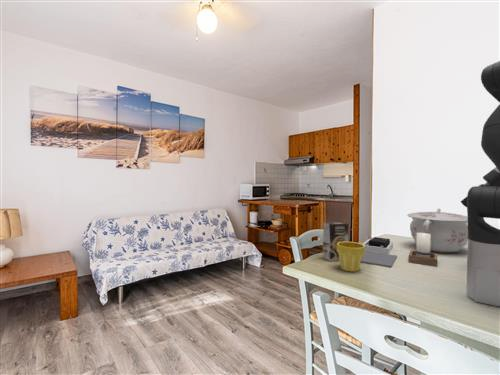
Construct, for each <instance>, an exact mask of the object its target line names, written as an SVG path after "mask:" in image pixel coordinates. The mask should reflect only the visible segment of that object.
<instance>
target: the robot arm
mask: <svg viewBox="0 0 500 375" xmlns="http://www.w3.org/2000/svg"><path fill="white" fill-rule="evenodd" d="M480 82H481V83H482V86H483V87H484V89H485V90H486V92H488V93H489V94H490V95H491V96H492V97H493V98H494V99H495V100H496V101H497V102H498V103H499V104H498V105H497V107H496V108H495V109H494V110H493V111H492V113H491V114H490V115H489V116H488V117H487V119H486V121H485V122H484V124H483V127H482V135H481V141H480V142H481V143H480V146H481V149H482V151H483V152H484V154H485V155H486V156H487V157H488V159H489V160H490V161H491V162H492V164H493V165H495V167H494V168H493V169H491V170H490V171H488V173H486V174H485V175H484V176H483V177H482V179H483V181H485V182H486V183H482V184H478V185H477V186H475V185H474V186H472V187H470V188H469V190H468V191H467V194H466V196H465V197H464V198H463V199H462V200H461V201H460V203H461V204H462V205H463V206H464V207H465V208H466V213H467V215H466V216H467V217H468V223H467V225H468V242H467V252H466V253H467V254H466V256H467V257H466V290H465V291H466V296H467V297H468V298H470V299H471V300H473V301H474V302H477V303H481V304H486V305H491V306H495V307H500V229H499V228H497V227H494V226H492V225H490V224H489V223H488V222H487V221H485V219H486V218H487V219H497V220H500V60H499V61H497V62H494V63H492V64H489V65H487V66H485V67H484V68H483V69H482V71H481V74H480Z"/></svg>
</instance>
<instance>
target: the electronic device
mask: <svg viewBox="0 0 500 375" xmlns="http://www.w3.org/2000/svg"><path fill="white" fill-rule="evenodd" d="M390 239H391V238H386V237H385V238H384V237H377V236H376V237H375V236H374V237H373V238H371V239H370V240H369V246H375V247H382V248H387V246H388V245H389V244H390V242H391V240H390Z"/></svg>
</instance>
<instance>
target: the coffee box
mask: <svg viewBox="0 0 500 375" xmlns="http://www.w3.org/2000/svg"><path fill="white" fill-rule="evenodd" d="M322 230H323V235H322V236H323V237H322V238H323V240H322V258H323V259H324V260H327V261H329V262H337V261H338V262H340V259H339V254H338V252H337V243H338V242H349V223H347V222H343V221H342V222H341V221H328V222H326V221H325V222H323V228H322Z"/></svg>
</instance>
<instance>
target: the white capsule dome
mask: <svg viewBox="0 0 500 375" xmlns="http://www.w3.org/2000/svg"><path fill="white" fill-rule="evenodd" d="M430 240H431V234H428V233H417V244H416V243H415V244H416V245H415V246H416V249H415V251H416V256H421V257H428V258H430V255H431V253H432V251H430Z"/></svg>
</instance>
